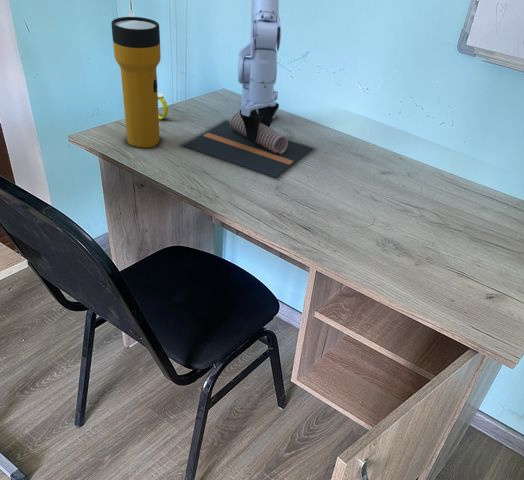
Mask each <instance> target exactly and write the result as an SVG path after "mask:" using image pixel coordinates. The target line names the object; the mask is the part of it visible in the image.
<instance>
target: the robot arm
mask: <svg viewBox="0 0 524 480" xmlns="http://www.w3.org/2000/svg"><path fill="white" fill-rule="evenodd" d="M279 1H280V0H251V14H250V15H251V16H250V17H251V18H250V36H249V37H250V38H249V39H250V40H249V42H248V43H247V44H245V45H243V47H242V48H240V51H239V52H238V61H237V82H238V83H239V85H240V84H241V102H240V103H241V104H240V110H239V112H240V116H241V118H242V120H243V122H244V125H245V130H246V135H247V140H250V141H253V142H255V141H256V138H257V133H258V128H259V125H260V123H262V124H264V125H266V126H268V127H270V128H271V125H272V121H273V120H274V119H275V118H276V112H277V111H278V110H279V107H280V104H279V103H278V102H277V100H278V95H279V92H278V91H277V90H275V89H274V86H275V85H276V82H277V75H278V62H277V61H278V55H277V52H279V51H280V47H281V42H282V41H281V40H282V25H281V17H280V16H279V12H280V11H279V10H280V9H279V7H280V6H279V3H280V2H279Z"/></svg>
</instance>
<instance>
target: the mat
mask: <svg viewBox="0 0 524 480" xmlns="http://www.w3.org/2000/svg"><path fill="white" fill-rule="evenodd" d="M182 146H183V147H185V148H187V149H190V150H193V151H196V152H199V153H202V154H205V155H208V156H209V157H213V158H216V159H219V160H222V161H225V162H228V163H231V164H234V165H237V166H240V167H243V168H245V169H249V170H252V171H254V172H257V173H260V174H263V175H266V176H269V177H271V178H275V179H277V178H278V177H279V176H281V175H282V174H283V173H284V172H286V171H287V170H288V169H290V168H291V167H292V166H293V165H295V164H296V163H297V162H299V160H301V159H302V158H303V157H305V156H306V155H307V154H308V153H310V152H311V151H312V150H313V149H314V148H313V147H310V146H308V145H307V146H306V145H303V144H300V143H298V142H294V141H291V140H288V146H287V148H286V150H285V152H284V153H283V154H281V155H280V154H279V153H274V152H272V151H271V150H269V149H267V148H265V147H263V146H262V145H260V144H258V143H256V142H253V141H250V140H247V137H245V136H244V135H242V134H240V133H238V132H237V131H235V130H233V129H231V127H230V121H228V120H225V121H223V122H222V123H221V124H219V125H217V126H215V127H213V128H212V129H209V130H207V131H206V132H204V133H203V134H201V135H199V136H198V137H195V138H194V139H192V140H190V141H188V142H187V143H185V144H183V145H182Z"/></svg>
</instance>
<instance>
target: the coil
mask: <svg viewBox="0 0 524 480" xmlns="http://www.w3.org/2000/svg"><path fill="white" fill-rule="evenodd" d="M229 122H230V127H231V129H233V130H235V131H237V132H238V133H240V134H242V135H244V136H245V137H247V135H246V130H245V125H244V122H243V120H242V118H241V116H240V111H237V112H234V113H233V114H232V115H231V117H230V119H229ZM288 141H289V140H288V138H287V136H286V135H285V134H283V133H281V132H279V131H277V130H275V129H273V128H271V126H270V127H268V126H266V125H264V124H262V123H260V125H259V128H258V133H257V138H256V141H255V142H256V143H258V144H260V145H262V146H263V147H265V148H267V149H269V150H271V151H272V152H274V153H279V154H280V155H281V154H283V153H284V152H285V150H286V148H287V146H288Z"/></svg>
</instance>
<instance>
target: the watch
mask: <svg viewBox="0 0 524 480" xmlns="http://www.w3.org/2000/svg"><path fill="white" fill-rule="evenodd" d="M158 101H160V103H161V105H162V109H163V114H162V115H160V114H158V115H159V120H160V121H162V120H164V119H166V118H167V117H168V114H169V106H168V103H167V101H166V99H165V97H164V94H163V93H161V92H158Z"/></svg>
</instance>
